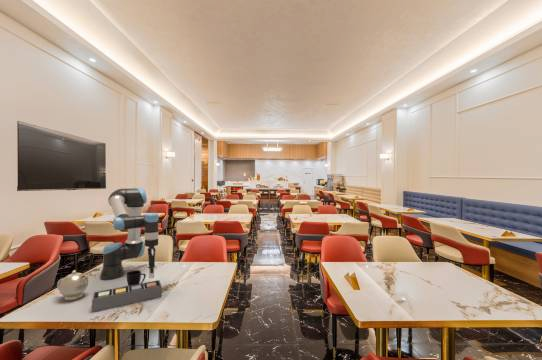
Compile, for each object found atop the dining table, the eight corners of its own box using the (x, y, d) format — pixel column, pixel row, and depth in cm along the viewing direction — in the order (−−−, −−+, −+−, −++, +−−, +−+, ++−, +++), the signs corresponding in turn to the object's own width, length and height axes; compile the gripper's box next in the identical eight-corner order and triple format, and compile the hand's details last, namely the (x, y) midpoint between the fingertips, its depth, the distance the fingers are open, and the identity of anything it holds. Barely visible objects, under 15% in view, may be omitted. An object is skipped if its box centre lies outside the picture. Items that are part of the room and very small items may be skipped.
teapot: (94, 293, 156) (94, 266, 156) (76, 303, 142) (76, 274, 142) (67, 292, 157) (67, 266, 157) (46, 302, 143) (46, 274, 143)
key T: (115, 296, 144) (115, 289, 144) (125, 294, 147) (125, 287, 147) (115, 299, 140) (115, 292, 140) (125, 297, 143) (125, 290, 143)
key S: (131, 292, 149) (131, 286, 149) (140, 290, 151) (140, 284, 151) (131, 296, 144) (131, 289, 144) (141, 294, 147) (141, 287, 147)
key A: (98, 299, 140) (98, 292, 140) (109, 297, 143) (109, 290, 143) (98, 303, 136) (98, 296, 136) (109, 300, 139) (109, 294, 139)
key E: (146, 289, 153) (146, 283, 153) (155, 288, 155) (155, 282, 155) (147, 292, 148) (147, 286, 148) (156, 291, 151) (156, 284, 151)
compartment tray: (93, 304, 141) (93, 292, 141) (159, 290, 159) (159, 280, 159) (92, 312, 133) (92, 299, 133) (161, 297, 150) (161, 285, 150)
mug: (140, 290, 160) (140, 275, 160) (123, 289, 161) (123, 274, 161) (148, 285, 168) (148, 270, 168) (132, 284, 169) (132, 270, 169)
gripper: (143, 237, 156) (143, 275, 155) (145, 241, 145) (145, 282, 144) (156, 236, 160) (156, 273, 159) (159, 240, 148) (159, 280, 148)
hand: (151, 277), depth 152 cm, fingers closed
